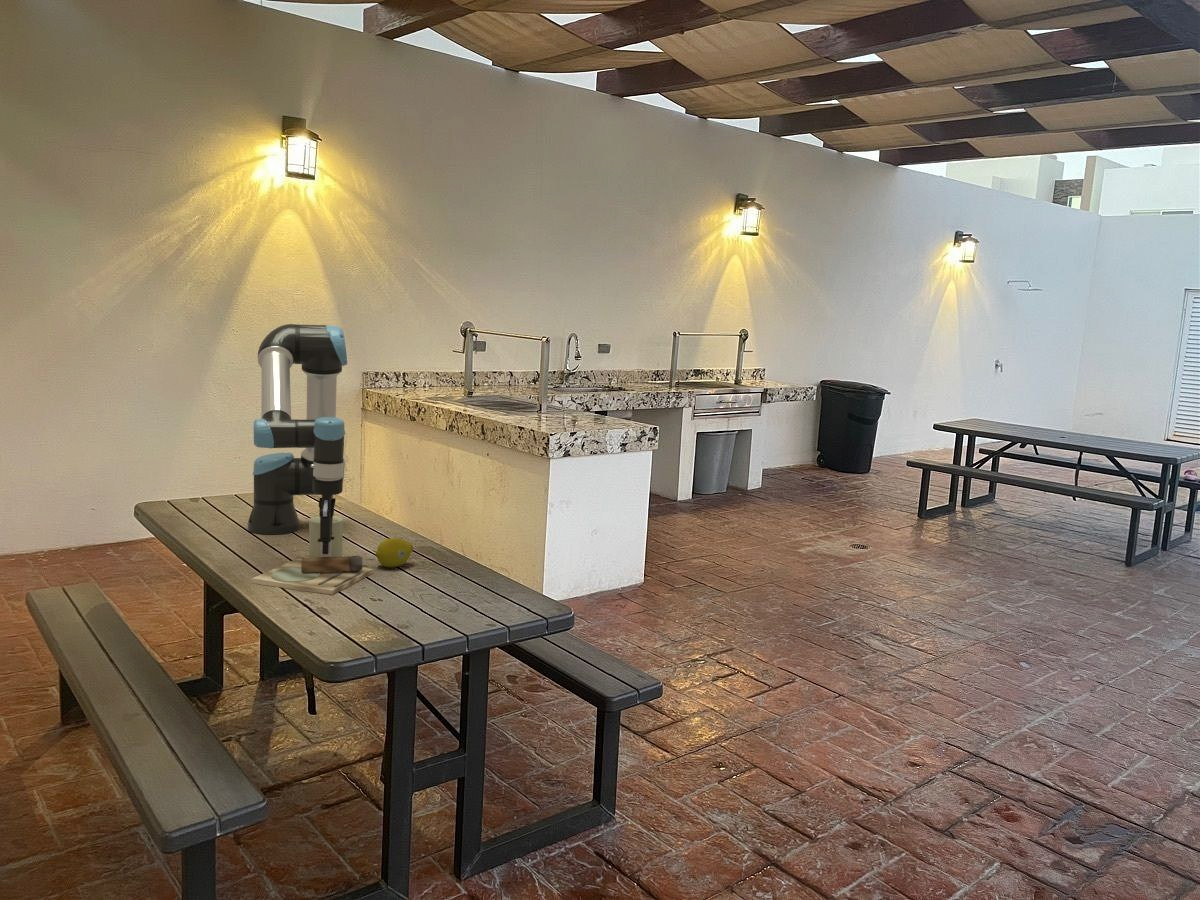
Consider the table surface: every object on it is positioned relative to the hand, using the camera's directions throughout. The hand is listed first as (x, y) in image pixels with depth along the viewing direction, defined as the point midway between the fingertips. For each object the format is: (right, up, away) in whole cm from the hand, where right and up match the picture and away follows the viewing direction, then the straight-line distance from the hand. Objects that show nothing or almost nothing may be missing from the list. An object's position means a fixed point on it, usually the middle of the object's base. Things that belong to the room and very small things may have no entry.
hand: (325, 564), depth 242 cm
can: (-4, -1, +14) cm, 15 cm away
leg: (+2, -1, -1) cm, 3 cm away
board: (-2, -3, -3) cm, 5 cm away
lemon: (+16, -2, +11) cm, 19 cm away
